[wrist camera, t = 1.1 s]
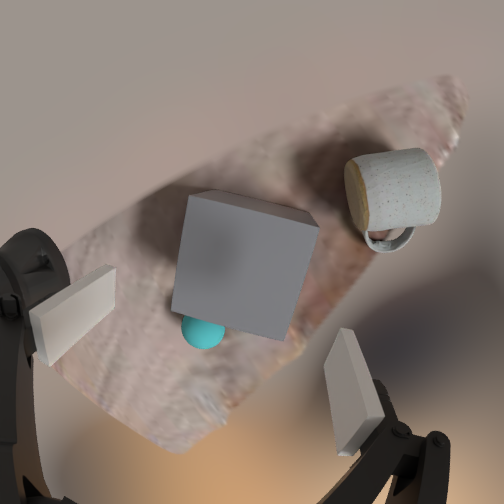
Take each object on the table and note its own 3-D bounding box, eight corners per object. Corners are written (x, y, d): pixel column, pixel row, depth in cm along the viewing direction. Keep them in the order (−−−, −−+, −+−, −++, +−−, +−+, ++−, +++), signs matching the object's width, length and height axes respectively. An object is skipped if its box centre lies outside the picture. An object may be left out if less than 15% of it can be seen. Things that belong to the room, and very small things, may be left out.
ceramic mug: (335, 159, 27) (353, 156, 20) (404, 149, 26) (438, 145, 19) (352, 255, 30) (372, 281, 23) (416, 241, 29) (449, 262, 21)
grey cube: (198, 276, 32) (170, 310, 24) (215, 189, 30) (188, 195, 21) (284, 299, 32) (283, 341, 24) (309, 212, 29) (319, 227, 21)
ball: (186, 328, 35) (173, 349, 30) (191, 294, 33) (177, 312, 28) (224, 339, 34) (215, 362, 30) (232, 305, 33) (223, 326, 28)
